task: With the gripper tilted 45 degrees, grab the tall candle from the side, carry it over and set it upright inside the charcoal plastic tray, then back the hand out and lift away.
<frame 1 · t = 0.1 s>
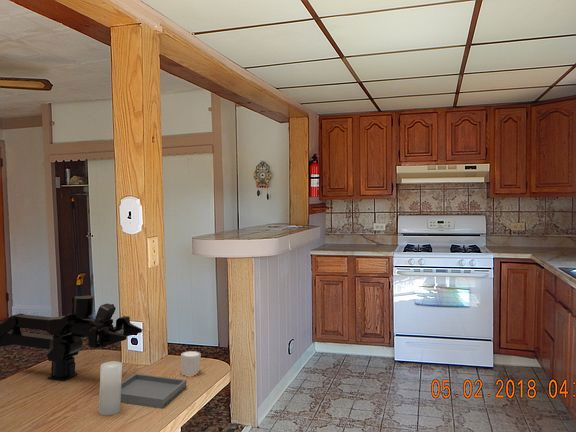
hand: (134, 334, 146), 17 cm above the table, tool horizontal, fingers open, 9 cm apart
shot glass: (190, 374, 160), on the table
candle: (109, 411, 128), on the table
tray: (147, 393, 141), on the table
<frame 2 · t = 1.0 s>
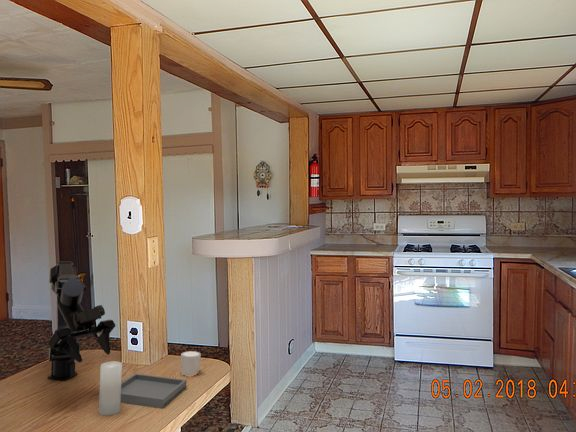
hand: (95, 357, 132), 13 cm above the table, tool tilted 45°, fingers open, 9 cm apart
nothing on the table moved.
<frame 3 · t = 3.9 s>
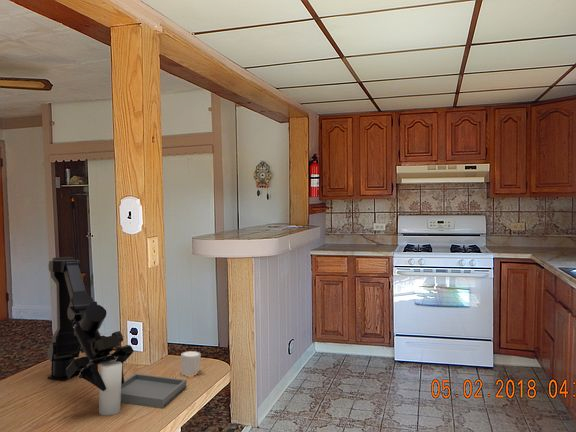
hand: (113, 386, 128), 7 cm above the table, tool tilted 45°, fingers closed on candle, 6 cm apart
candle: (109, 410, 128), on the table, touching gripper
everything else where it was.
when the fingers open (10 cm above the table, at t = 8.0 s): candle drops 2 cm, resting on tray.
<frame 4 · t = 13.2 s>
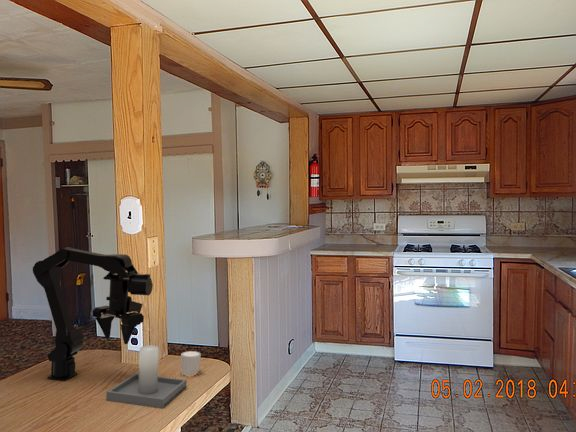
hand: (116, 341, 150), 13 cm above the table, tool pointing down, fingers open, 9 cm apart
candle: (147, 390, 141), point 1 cm above the table, touching tray
everything else where it was.
at the end: candle inside the target area on the tray (0.1 cm from its centre), point 1.1 cm above the tray's base; candle tilted 1°; the gripper is holding nothing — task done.
